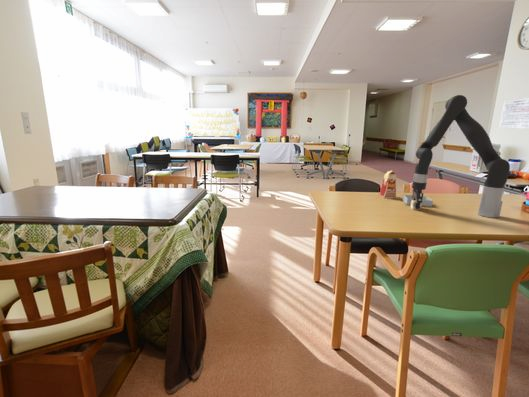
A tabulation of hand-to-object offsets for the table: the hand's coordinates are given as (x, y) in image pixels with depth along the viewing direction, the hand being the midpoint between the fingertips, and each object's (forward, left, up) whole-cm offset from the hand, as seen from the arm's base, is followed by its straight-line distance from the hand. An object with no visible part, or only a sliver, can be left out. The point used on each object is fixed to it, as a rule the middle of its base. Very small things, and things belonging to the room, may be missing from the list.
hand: (415, 207), depth 182 cm
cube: (0, 0, -1) cm, 1 cm away
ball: (-7, -15, 0) cm, 16 cm away
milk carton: (+12, -29, -1) cm, 31 cm away
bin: (-4, -15, -1) cm, 16 cm away
